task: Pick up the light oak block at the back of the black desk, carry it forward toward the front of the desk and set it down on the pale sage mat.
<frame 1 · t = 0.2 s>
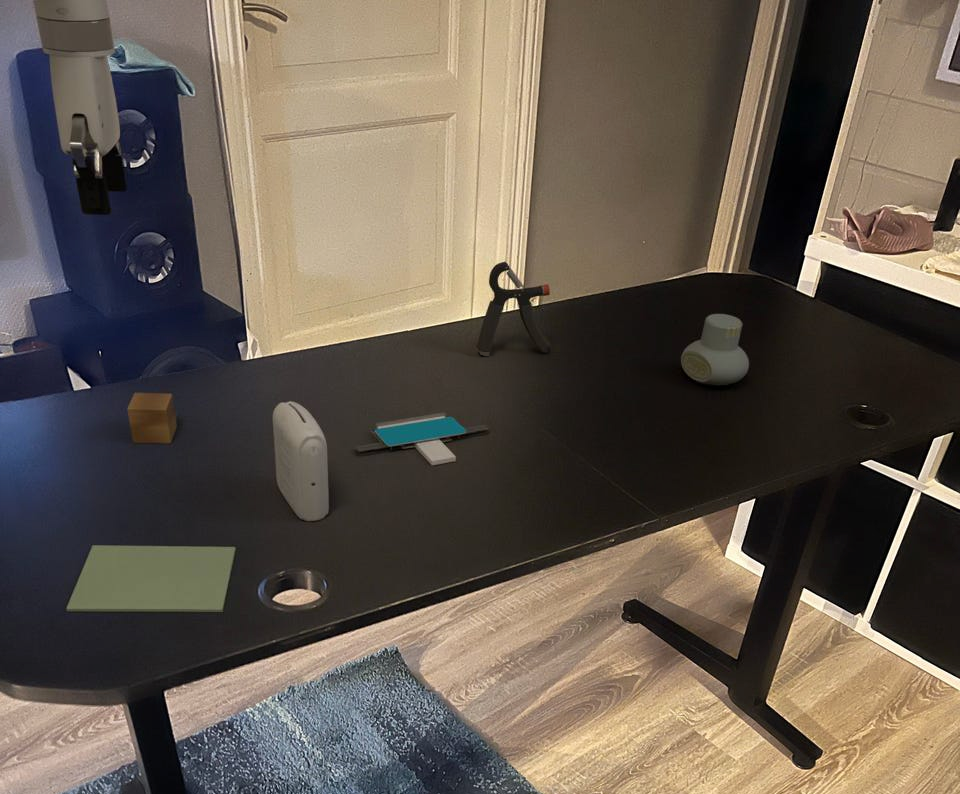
hand: (105, 201, 117), 29 cm above the table, tool pointing down, fingers open, 9 cm apart
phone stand: (425, 445, 136), on the table
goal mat: (155, 579, 107), on the table
hand grip strengthener: (513, 355, 163), on the table
block: (155, 434, 133), on the table
air freshener: (710, 380, 160), on the table
photo printer: (302, 502, 122), on the table
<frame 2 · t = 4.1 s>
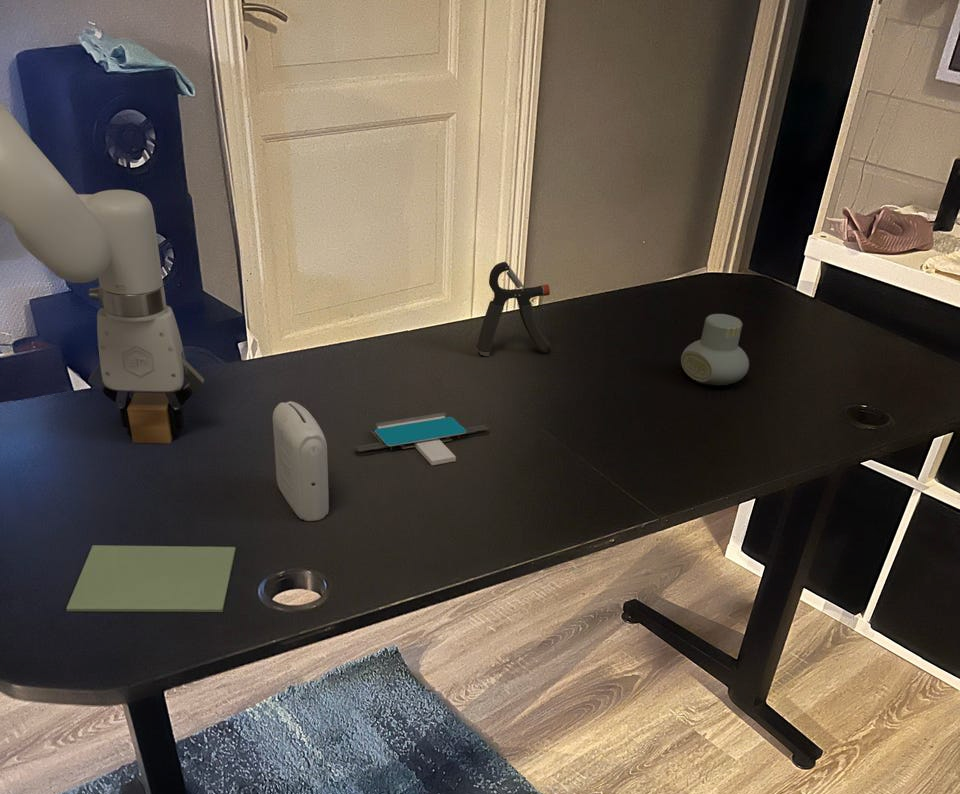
hand: (154, 430, 132), 1 cm above the table, tool pointing down, fingers closed on block, 5 cm apart
block: (155, 434, 133), on the table, touching gripper
everything else where it was.
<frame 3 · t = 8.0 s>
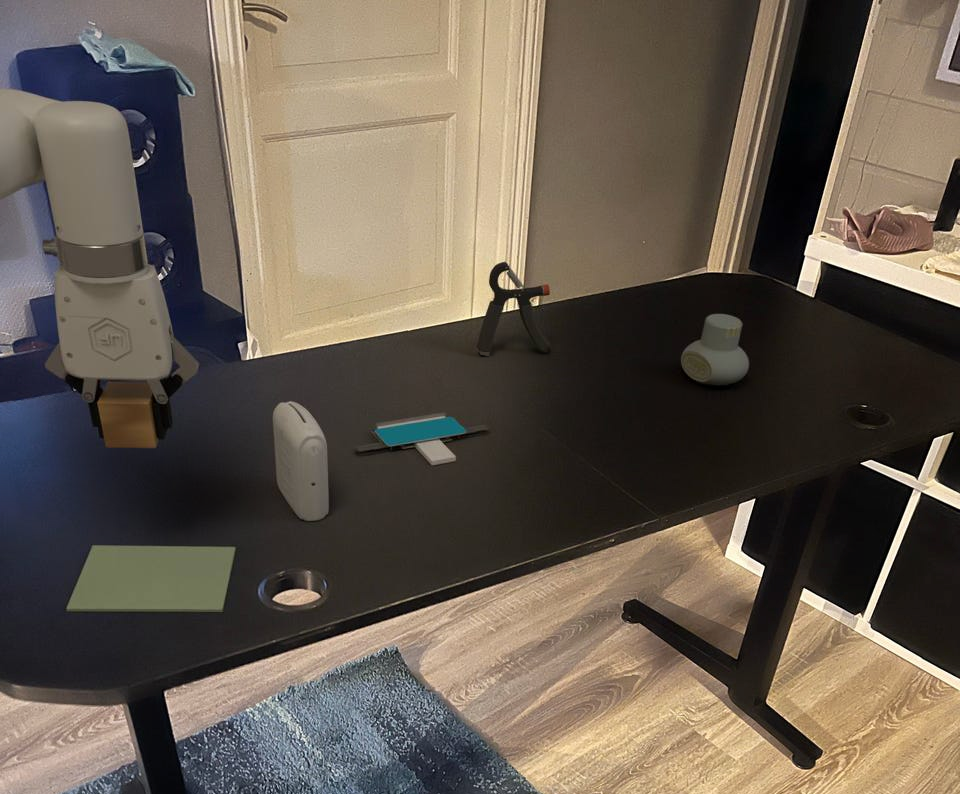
hand: (134, 431, 101), 15 cm above the table, tool pointing down, fingers closed on block, 5 cm apart
block: (135, 436, 102), point 15 cm above the table, touching gripper
everything else where it was.
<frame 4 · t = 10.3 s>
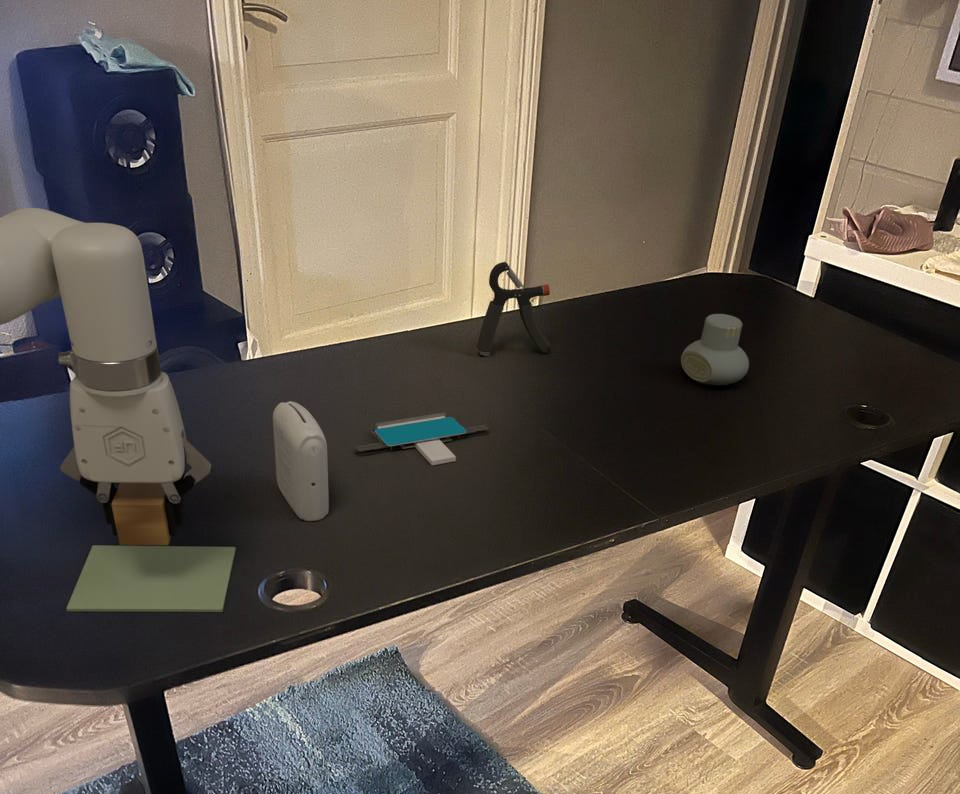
hand: (147, 527, 103), 7 cm above the table, tool pointing down, fingers closed on block, 5 cm apart
block: (148, 532, 103), point 6 cm above the table, touching gripper
everything else where it was.
when the fingers open (1 cm above the table, at t = 12.0 s): block stays where it is, resting on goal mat.
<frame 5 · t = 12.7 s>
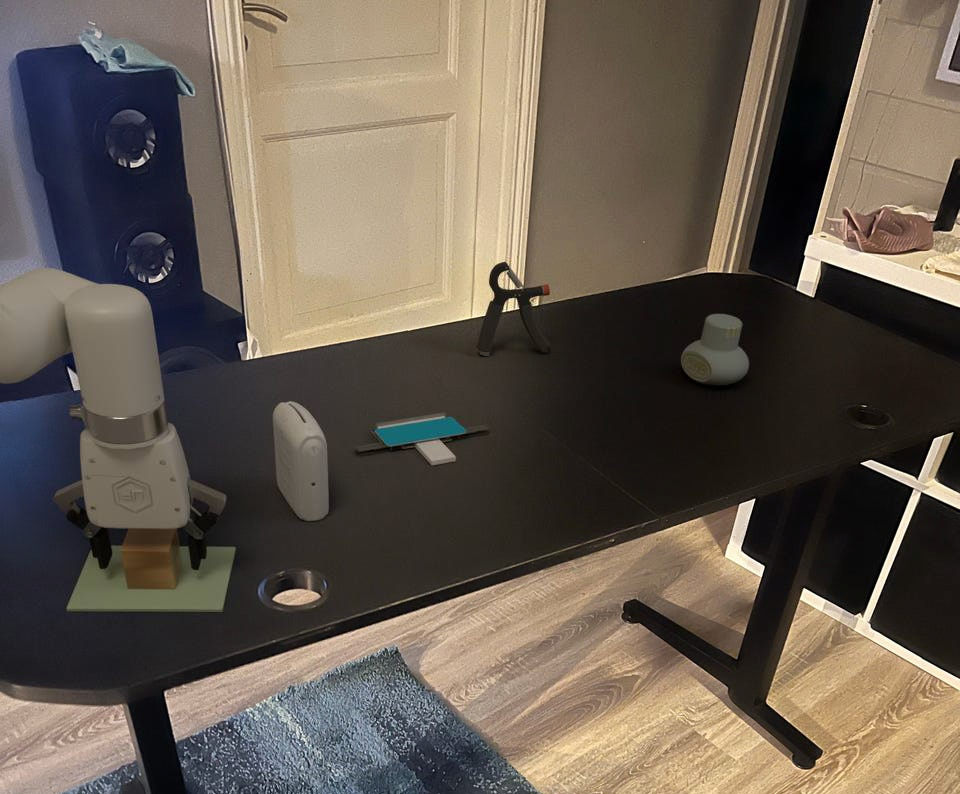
hand: (152, 562, 106), 2 cm above the table, tool pointing down, fingers open, 9 cm apart
block: (155, 576, 107), resting on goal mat
everything else where it was.
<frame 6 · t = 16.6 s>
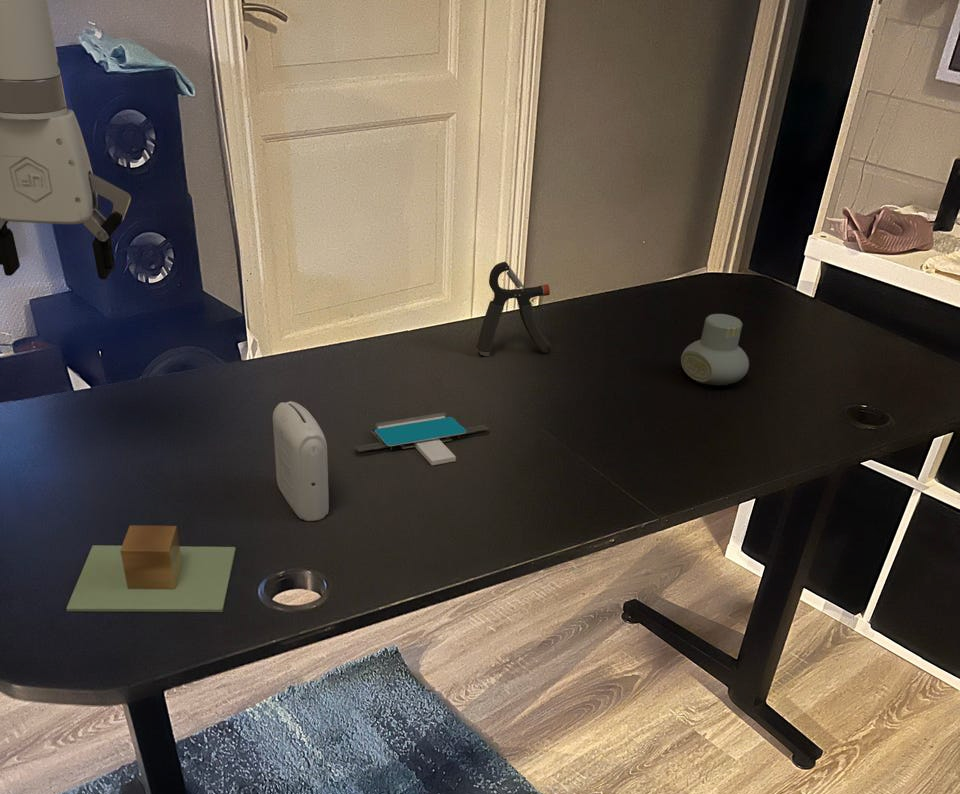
hand: (59, 273, 105), 26 cm above the table, tool pointing down, fingers open, 9 cm apart
nothing on the table moved.
at the end: block inside the target area on the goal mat (0.1 cm from its centre), point 0.4 cm above the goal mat's base; block moved 34.5 cm from its start; the gripper is holding nothing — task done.
